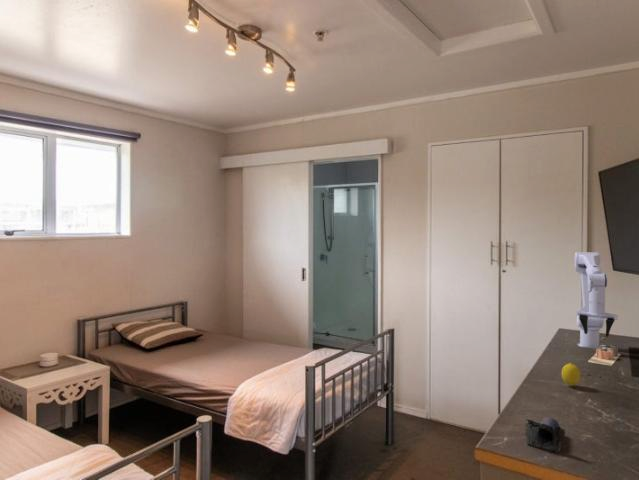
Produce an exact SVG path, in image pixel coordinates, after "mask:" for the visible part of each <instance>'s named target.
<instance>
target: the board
mask: <svg viewBox="0 0 639 480" xmlns="http://www.w3.org/2000/svg"><path fill="white" fill-rule="evenodd" d="M598 349H602V351H607V349H609V350H611V351H613V359H612V360H610V359H608V360H605V359H599V358H598V357H596V353H594V355H593V356H591V358H589V360H588V361H587V362H588V363H593V364H598V365H599V364H600V365H603V366H604V365H605V366H611V367H612V366H613V365H614V363H615V362H616V361H617V360H618V359H619V357H620V356H621V353H619V348H618V346H615V345H614V346H613V345H611V344H607V345H605V344H601V345H600V344H599V345H598Z"/></svg>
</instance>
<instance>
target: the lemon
mask: <svg viewBox="0 0 639 480" xmlns="http://www.w3.org/2000/svg"><path fill="white" fill-rule="evenodd" d="M561 378H562V380H563V382H564V383H565V384H567V385H568V386H569V387H573V386H575V385H577V384H578V383H579V382H580V379H581V371H580V369H579V368H578V366H576V365H575V364H573V363H572V362H569V363H567V364H564V366H563V367H562V368H561Z"/></svg>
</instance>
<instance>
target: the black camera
mask: <svg viewBox="0 0 639 480" xmlns="http://www.w3.org/2000/svg"><path fill="white" fill-rule="evenodd" d="M526 421H527V422H526ZM524 422H526V423H525V425H524V426H525V438H526V440H527V442H526V444H527V445H530V446H532V447H533V446H534V447H537V448H539V450H544V449H545V450H550V451H551V452H555V453H557V454H558V453H560V451H561V449H562V445H563V444H562V442H564V441H563V440H564V439H565V436H566V435H565V434H566V430H567V429H565V428H562V427H561V426H560V423H559V422H558V421H557V420H556V419H555V418H553V417H550V416H546V417H544V418H542V419H541V421H540V422H536V421H534V420H532V419H528V418H527V419H526V420H524ZM547 433H548V434H551V435H550V437H549V436H548V435H547Z"/></svg>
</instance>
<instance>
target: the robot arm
mask: <svg viewBox="0 0 639 480" xmlns="http://www.w3.org/2000/svg"><path fill="white" fill-rule="evenodd" d="M573 257H574V270H575V272H577V273H579V277H580V283H581V292H582V293H581V295H582V297H581V298H582V307H580V308H579V309H577V310H576V325H577V327H579V328H580V332H579V343H577V347H581V348H587V349H589V348H590V349H595V350H596V349H598V345H600V330H601V329H603V327H604V325H605V337H606V338H608V337H610V336H609V335H610V331H611V328H612V326H613V324H614V322H615V321H617V320H619V314H613V313H608V312H606V288H607V286H608V276H607V273H605V272H603V270H602V268H601V267H600V264H601V254H600V252H598V251H596V252H593V251H592V252H589V251H586V252H583V251H575V253H574V256H573ZM604 320H605V322H604Z"/></svg>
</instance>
